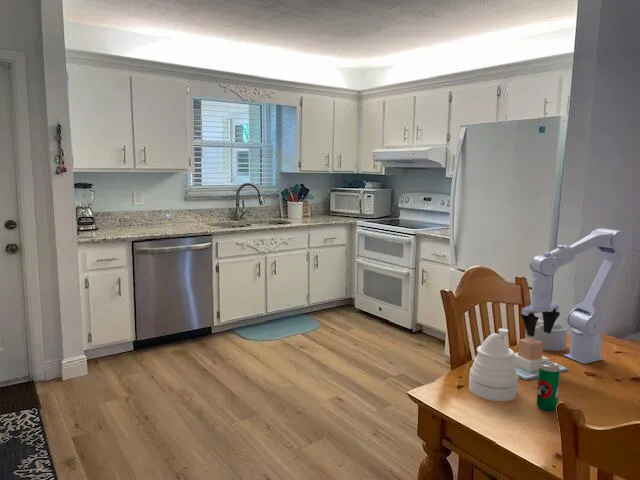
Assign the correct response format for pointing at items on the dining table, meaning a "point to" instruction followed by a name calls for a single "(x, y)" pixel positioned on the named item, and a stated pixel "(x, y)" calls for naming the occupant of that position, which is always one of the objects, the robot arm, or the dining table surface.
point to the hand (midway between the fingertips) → (538, 334)
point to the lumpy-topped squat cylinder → (550, 336)
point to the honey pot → (494, 370)
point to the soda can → (548, 386)
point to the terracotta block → (530, 348)
